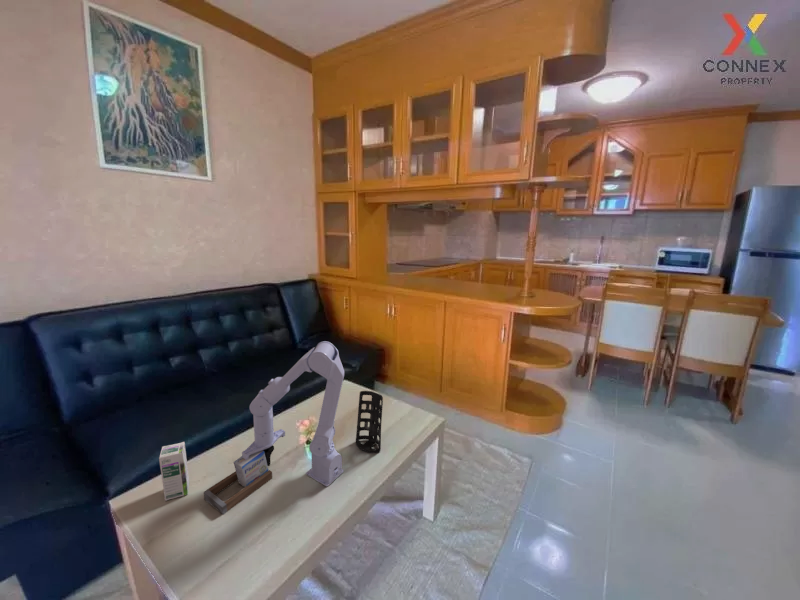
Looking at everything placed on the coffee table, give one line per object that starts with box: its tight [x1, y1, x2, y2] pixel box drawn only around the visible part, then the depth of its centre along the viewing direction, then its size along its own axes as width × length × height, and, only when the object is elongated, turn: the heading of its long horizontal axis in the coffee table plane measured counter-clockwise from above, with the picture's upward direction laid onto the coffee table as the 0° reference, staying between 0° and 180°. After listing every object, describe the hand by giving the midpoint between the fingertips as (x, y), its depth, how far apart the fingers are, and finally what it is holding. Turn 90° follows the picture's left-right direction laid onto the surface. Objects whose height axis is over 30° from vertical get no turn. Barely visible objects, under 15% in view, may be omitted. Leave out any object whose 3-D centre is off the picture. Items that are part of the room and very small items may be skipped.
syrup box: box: [158, 441, 190, 502], centre depth 97 cm, size 6×6×14 cm
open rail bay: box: [203, 469, 273, 515], centre depth 100 cm, size 9×16×2 cm, turn 148°
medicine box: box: [232, 450, 269, 488], centre depth 103 cm, size 8×4×9 cm, turn 146°
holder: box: [355, 390, 384, 454], centre depth 121 cm, size 11×8×20 cm
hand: (265, 465), depth 108 cm, fingers closed, pressing on medicine box
